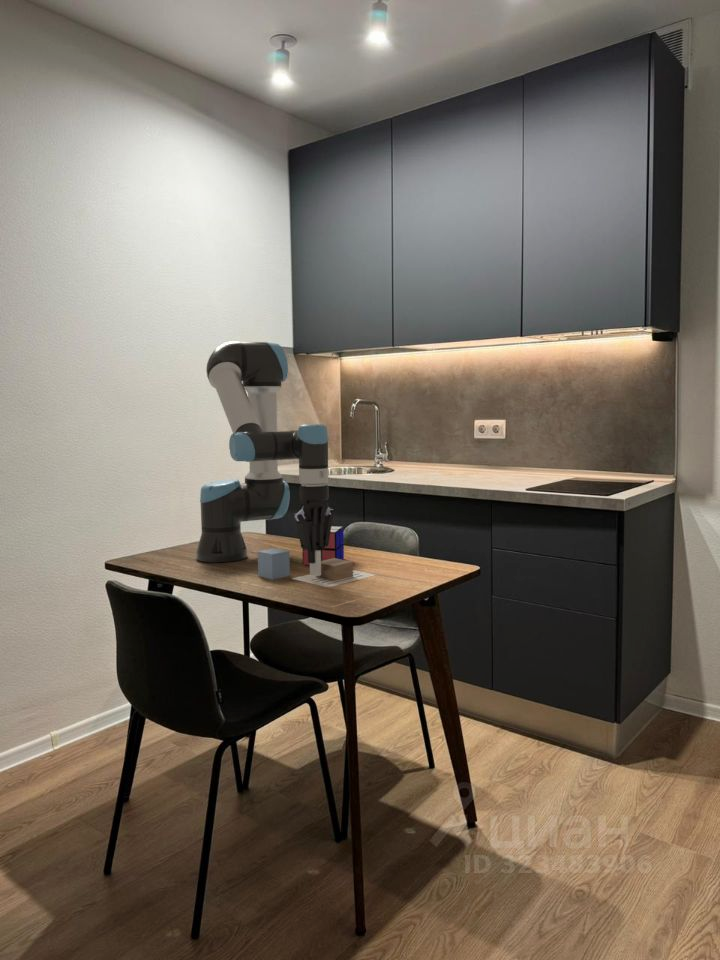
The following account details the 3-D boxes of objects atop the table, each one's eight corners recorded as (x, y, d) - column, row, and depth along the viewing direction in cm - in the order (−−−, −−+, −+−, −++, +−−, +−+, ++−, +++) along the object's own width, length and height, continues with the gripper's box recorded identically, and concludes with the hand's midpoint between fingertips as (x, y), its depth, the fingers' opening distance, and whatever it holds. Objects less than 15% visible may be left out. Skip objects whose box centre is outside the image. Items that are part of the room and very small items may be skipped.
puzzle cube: (336, 566, 207) (335, 532, 206) (302, 565, 209) (301, 531, 208) (344, 559, 217) (343, 526, 216) (311, 558, 219) (311, 525, 218)
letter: (291, 579, 193) (291, 578, 193) (340, 567, 205) (340, 567, 205) (327, 588, 183) (327, 587, 183) (376, 575, 196) (376, 574, 196)
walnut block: (315, 576, 194) (315, 562, 194) (334, 572, 199) (334, 558, 199) (334, 581, 189) (333, 566, 189) (352, 576, 194) (352, 561, 194)
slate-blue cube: (258, 576, 196) (257, 551, 195) (275, 573, 200) (275, 548, 200) (272, 580, 192) (271, 554, 191) (289, 576, 196) (289, 550, 195)
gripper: (304, 487, 179) (306, 581, 182) (342, 483, 189) (343, 572, 191) (284, 485, 185) (286, 577, 187) (322, 481, 194) (324, 568, 196)
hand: (315, 574), depth 189 cm, fingers closed
